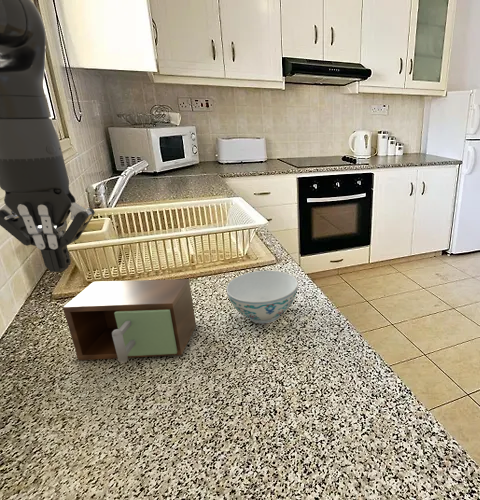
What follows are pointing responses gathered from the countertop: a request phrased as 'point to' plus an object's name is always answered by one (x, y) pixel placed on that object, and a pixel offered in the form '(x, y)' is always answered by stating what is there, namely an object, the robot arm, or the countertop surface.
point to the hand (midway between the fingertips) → (59, 269)
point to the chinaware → (262, 294)
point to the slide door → (143, 333)
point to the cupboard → (126, 299)
